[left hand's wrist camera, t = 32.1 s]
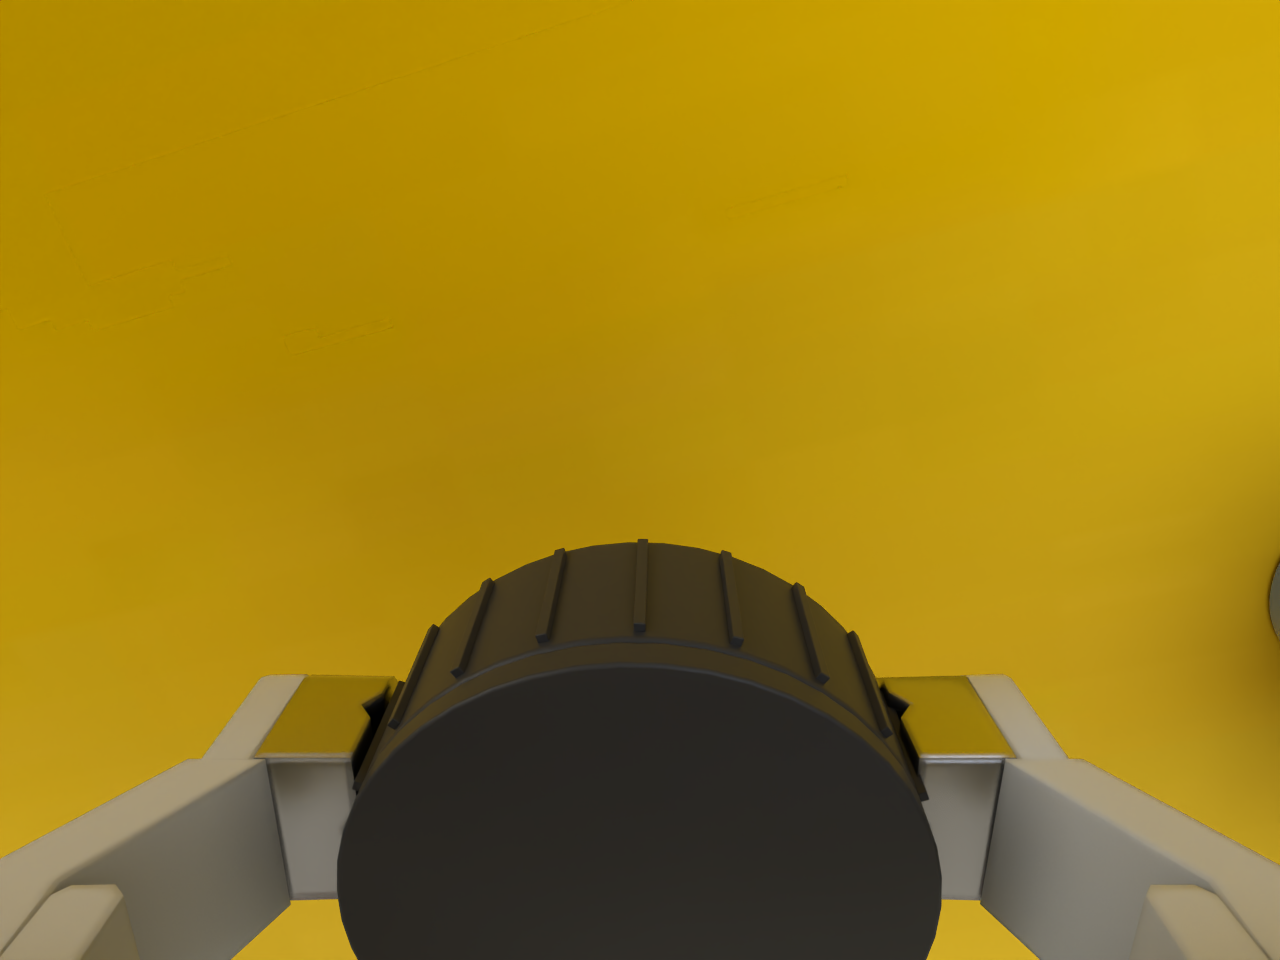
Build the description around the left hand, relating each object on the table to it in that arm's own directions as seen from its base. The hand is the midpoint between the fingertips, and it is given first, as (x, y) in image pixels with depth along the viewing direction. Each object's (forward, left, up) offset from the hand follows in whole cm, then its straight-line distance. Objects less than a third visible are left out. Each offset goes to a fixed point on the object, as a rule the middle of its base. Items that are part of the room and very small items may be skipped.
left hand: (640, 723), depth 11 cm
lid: (0, 0, +2) cm, 2 cm away
